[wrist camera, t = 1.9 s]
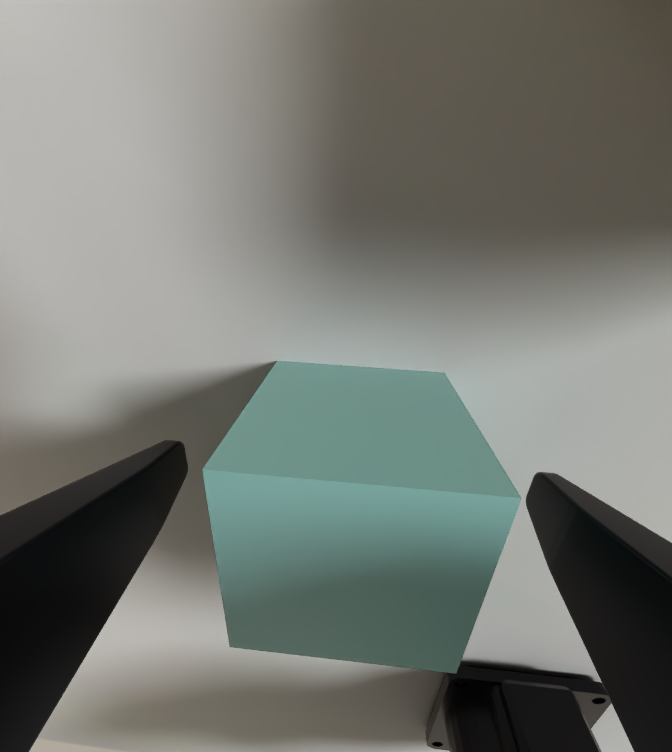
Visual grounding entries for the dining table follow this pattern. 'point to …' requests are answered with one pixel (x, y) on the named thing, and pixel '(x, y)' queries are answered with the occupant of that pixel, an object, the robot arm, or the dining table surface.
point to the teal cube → (356, 517)
